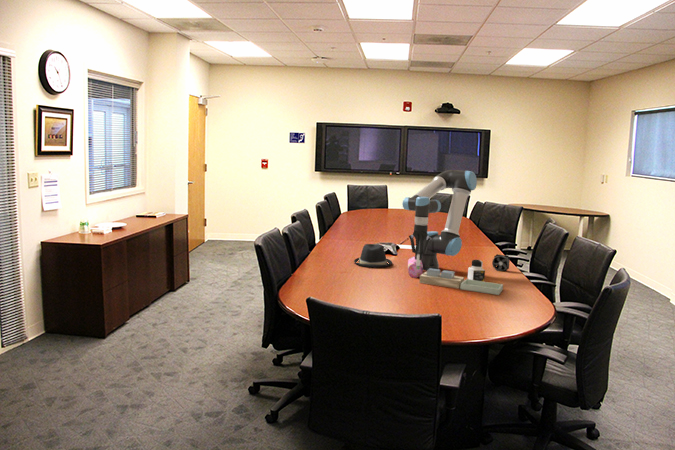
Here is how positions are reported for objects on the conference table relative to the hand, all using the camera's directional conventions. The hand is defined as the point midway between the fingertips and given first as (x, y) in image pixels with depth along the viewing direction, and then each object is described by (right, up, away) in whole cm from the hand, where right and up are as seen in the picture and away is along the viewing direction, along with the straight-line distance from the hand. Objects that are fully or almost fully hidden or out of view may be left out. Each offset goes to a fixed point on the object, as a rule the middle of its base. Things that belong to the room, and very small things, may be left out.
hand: (418, 265), depth 292 cm
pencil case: (+1, -7, +16) cm, 18 cm away
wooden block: (+12, -10, -5) cm, 16 cm away
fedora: (-23, -2, +40) cm, 46 cm away
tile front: (+15, -6, -7) cm, 18 cm away
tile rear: (+8, -5, -3) cm, 10 cm away
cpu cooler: (+58, -6, +35) cm, 68 cm away
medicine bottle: (+34, -9, +6) cm, 36 cm away
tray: (+32, -12, -14) cm, 37 cm away
